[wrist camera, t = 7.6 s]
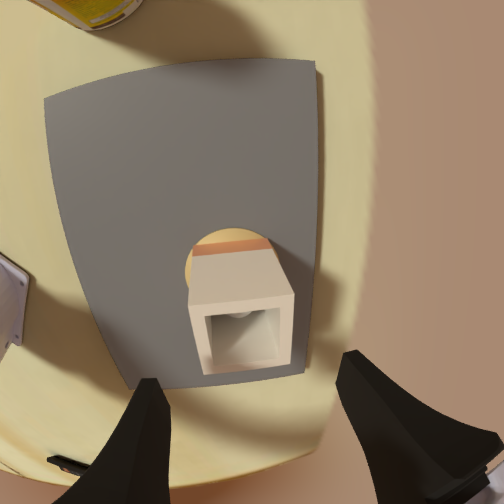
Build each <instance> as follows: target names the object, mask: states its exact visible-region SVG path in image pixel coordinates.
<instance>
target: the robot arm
mask: <svg viewBox="0 0 504 504" xmlns="http://www.w3.org/2000/svg"><path fill="white" fill-rule="evenodd" d="M28 284H29V276H28V274H27V273H26V272H24V271H23V270H21V269H20V268H18V267H17V266H16V265H14V264H13V263H11V262H10V261H9V260H7V259H6V258H5V257H3V256H2V255H1V254H0V362H1V360H2V359H3V357H4V355H5V353H6V352H7V350H8V348H9V347H10V345H11V343H14V344H15V345H17V346H21V344H22V333H23V322H24V312H25V304H26V297H27V291H28ZM335 384H336V387H337V390H338V394H339V397H340V400H341V403H342V405H343V407H344V410H345V412H346V414H347V416H348V418H349V420H350V422H351V425H352V426H353V429H354V431H355V433H356V435H357V437H358V439H359V441H360V444H361V446H362V448H363V451H364V453H365V456H366V459H367V463H368V466H369V469H370V472H371V476H372V480H373V483H374V487H375V492H376V496H377V501H378V504H504V460H503V461H502V462H501V463H499V464H498V465H497V466H496V467H495V468H493V469H492V470H491V471H489V472H488V473H487V474H485V471H486V470H487V466H486V465H487V464H488V463H489V462H490V461H491V460H493V459H494V458H495V457H496V456H497V455H498V454H499V453H500V452H501V451H502V450H504V444H503V442H502V441H501V439H500V437H499V436H498V434H497V433H495V432H491V431H487V430H483V429H479V428H476V427H473V426H470V425H467V424H464V423H461V422H459V421H457V420H454V419H452V418H450V417H448V416H446V415H443V414H441V413H439V412H437V411H436V410H434V409H432V408H430V407H429V406H427V405H426V404H424V403H422V402H421V401H419V400H418V399H416V398H415V397H413V396H412V395H411V394H409V393H408V392H407V391H405V390H404V389H403V388H401V387H400V386H399V385H397V384H396V383H395V382H394V381H393V380H391V379H390V378H389V377H388V376H386V375H385V374H384V373H383V372H382V371H381V370H380V369H378V368H377V367H376V366H375V365H374V364H373V363H372V362H371V361H369V360H368V359H367V358H366V357H365V356H364V355H363V354H361V353H360V352H359V351H358V350H353V351H349V352H345V353H343V356H342V360H341V364H340V368H339V372H338V376H337V380H336V383H335ZM170 441H171V412H170V405H169V403H168V401H167V399H166V397H165V395H164V393H163V390H162V388H161V386H160V384H159V382H158V379H157V378H142V379H141V380H140V381H139V383H138V386H137V388H136V390H135V392H134V394H133V396H132V398H131V400H130V402H129V404H128V406H127V408H126V410H125V412H124V414H123V415H122V417H121V419H120V421H119V423H118V425H117V426H116V428H115V430H114V431H113V433H112V435H111V436H110V438H109V440H108V441H107V443H106V444H105V446H104V447H103V449H102V450H101V452H100V453H99V455H98V456H97V457H96V459H95V460H94V461H93V463H92V464H91V465H90V466H89V468H88V469H87V470H86V471H85V473H84V474H83V475H82V476H81V477H80V478H79V479H78V480H77V481H76V482H75V483H74V484H73V485H72V486H71V487H70V488H69V489H68V490H67V491H66V492H65V493H64V494H63V495H62V496H61V497H60V498H58V499H57V500H56V501H54V502H53V503H52V504H170V494H169V477H168V475H169V456H170Z"/></svg>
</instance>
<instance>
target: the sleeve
mask: <svg viewBox="0 0 504 504" xmlns="http://www.w3.org/2000/svg"><path fill="white" fill-rule="evenodd" d="M188 310H189V315H190V319H191V324H192V328H193V333H194V337H195V342H196V346H197V350H198V354H199V358H200V362H201V366H202V370H203V374H204V375H208V374H219V373H229V372H238V371H246V370H254V369H261V368H268V367H274V366H281V365H287V364H290V360H291V346H292V330H293V313H294V292H293V290H292V288H291V286H290V284H289V282H288V280H287V278H286V275H285V273H284V271H283V269H282V267H281V265H280V263H279V261H278V259H277V257H276V255H275V253H274V251H273V249H272V247H271V245H270V243H269V241H268V239H267V238H261V239H251V240H241V241H230V242H220V243H210V244H200V245H193V252H192V262H191V272H190V283H189V295H188ZM248 311H252V312H251V313H250V314H249V315H247V316H245V317H242V318H233V317H230V316H228V315H227V314H230V313H239V312H248Z"/></svg>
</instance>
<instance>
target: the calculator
mask: <svg viewBox="0 0 504 504" xmlns="http://www.w3.org/2000/svg"><path fill="white" fill-rule="evenodd" d="M47 462H49V463H52V464H54V465H57V466H59V467H60V469H61V470H62V471H65V472H68V473H71V474H74V475H77V476H80V477H81V476H82V475H83V474H84V473H85V471H86V470H87V469H88V468H87V467H84V466H80V465H77V464H74V463H71V462H68V461H65V460H63V459H60V458H57V457H54V456H52V457H48V458H47Z"/></svg>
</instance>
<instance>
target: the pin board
mask: <svg viewBox="0 0 504 504" xmlns="http://www.w3.org/2000/svg"><path fill="white" fill-rule="evenodd" d="M44 110H45V124H46V135H47V144H48V152H49V160H50V166H51V173H52V178H53V184H54V189H55V194H56V199H57V204H58V208H59V212H60V217H61V221H62V225H63V228H64V232H65V236H66V239H67V243H68V246H69V250H70V253H71V256H72V260H73V263H74V266H75V269H76V272H77V275H78V278H79V280H80V283H81V286H82V289H83V291H84V294H85V297H86V299H87V302H88V304H89V307H90V309H91V312H92V314H93V317H94V319H95V321H96V324H97V326H98V328H99V331H100V333H101V335H102V337H103V339H104V341H105V344H106V346H107V348H108V350H109V352H110V354H111V356H112V358H113V360H114V362H115V364H116V366H117V368H118V370H119V372H120V373H121V375H122V377H123V379H124V381H125V383H126V384H127V386H128V388H129V389H136V388H137V386H138V383H139V381H140V380H141V379H142V378H157V379H158V382H159V384H160V386H161V388H162V389H178V388H195V387H208V386H219V385H229V384H237V383H245V382H253V381H260V380H267V379H273V378H279V377H285V376H291V375H296V374H301V373H304V371H305V363H306V355H307V346H308V337H309V327H310V317H311V306H312V295H313V282H314V267H315V251H316V231H317V203H318V113H317V86H316V68H315V61H309V60H296V59H273V58H243V59H220V60H207V61H196V62H187V63H179V64H172V65H165V66H159V67H153V68H148V69H143V70H138V71H133V72H128V73H124V74H120V75H116V76H112V77H108V78H104V79H101V80H97V81H94V82H90V83H87V84H84V85H80V86H77V87H74V88H71V89H68V90H66V91H63V92H60V93H57V94H55V95H52V96H49V97H47V98H44ZM261 238H267V239H268V241H269V243H270V245H271V247H272V249H273V251H274V253H275V255H276V257H277V259H278V261H279V263H280V265H281V267H282V269H283V271H284V273H285V275H286V278H287V280H288V282H289V284H290V286H291V288H292V290H293V292H294V313H293V330H292V346H291V360H290V364H287V365H281V366H274V367H268V368H261V369H254V370H246V371H238V372H229V373H219V374H208V375H204V374H203V370H202V366H201V362H200V358H199V354H198V350H197V346H196V342H195V337H194V333H193V328H192V324H191V319H190V315H189V310H188V295H189V283H190V272H191V262H192V252H193V245H200V244H210V243H220V242H230V241H241V240H251V239H261ZM251 312H252V311H248V312H239V313H230V314H227V315H228V316H230V317H233V318H242V317H245V316H247V315H249V314H250V313H251Z"/></svg>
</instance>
